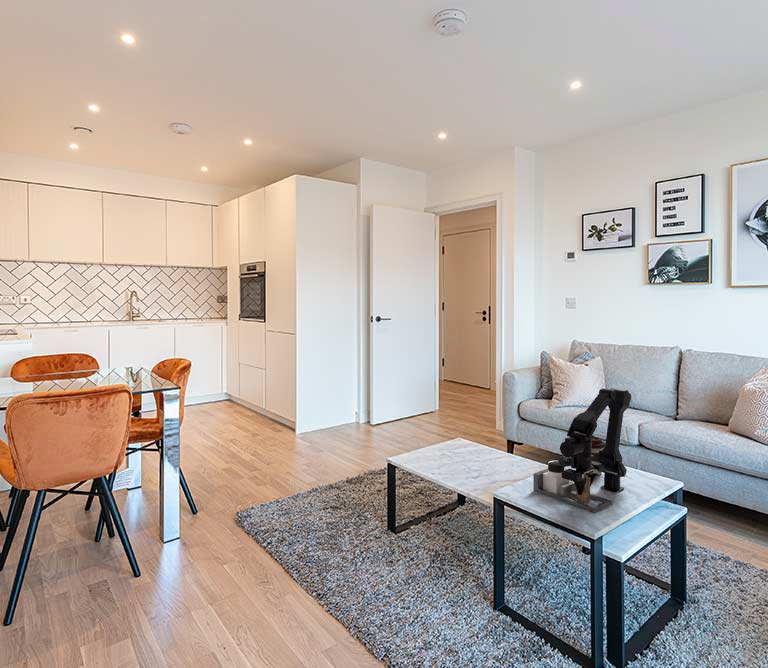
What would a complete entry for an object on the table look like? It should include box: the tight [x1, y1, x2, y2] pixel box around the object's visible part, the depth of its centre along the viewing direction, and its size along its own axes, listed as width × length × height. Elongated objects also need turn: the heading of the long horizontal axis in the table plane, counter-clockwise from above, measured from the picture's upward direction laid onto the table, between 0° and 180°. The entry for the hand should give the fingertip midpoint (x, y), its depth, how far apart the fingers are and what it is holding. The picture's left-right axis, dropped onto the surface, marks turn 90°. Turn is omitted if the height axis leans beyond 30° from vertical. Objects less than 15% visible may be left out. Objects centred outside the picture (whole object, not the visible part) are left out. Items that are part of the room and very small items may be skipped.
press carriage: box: [560, 474, 591, 505], centre depth 183 cm, size 8×9×10 cm
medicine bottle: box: [543, 460, 571, 495], centre depth 190 cm, size 7×7×12 cm
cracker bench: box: [532, 468, 613, 514], centre depth 185 cm, size 12×26×7 cm, turn 36°
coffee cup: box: [592, 436, 606, 476], centre depth 211 cm, size 10×10×15 cm
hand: (583, 493), depth 181 cm, fingers closed on press carriage, 3 cm apart
